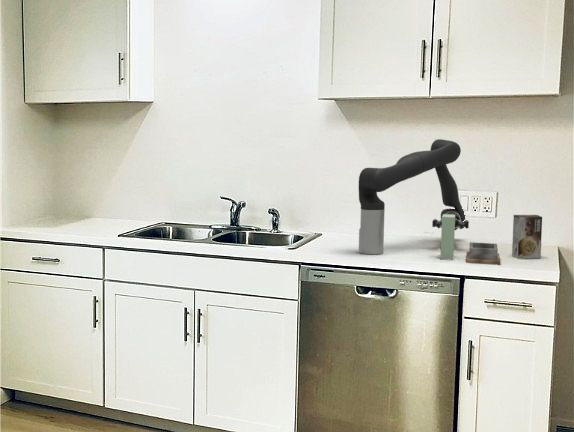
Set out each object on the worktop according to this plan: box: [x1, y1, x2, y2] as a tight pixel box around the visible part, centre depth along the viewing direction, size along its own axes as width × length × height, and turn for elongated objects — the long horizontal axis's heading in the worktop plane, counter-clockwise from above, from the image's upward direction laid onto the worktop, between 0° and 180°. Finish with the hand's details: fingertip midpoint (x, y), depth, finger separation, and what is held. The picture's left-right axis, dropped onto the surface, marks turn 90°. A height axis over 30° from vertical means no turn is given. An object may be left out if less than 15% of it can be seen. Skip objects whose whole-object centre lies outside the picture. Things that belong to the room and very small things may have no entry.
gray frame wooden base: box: [465, 241, 501, 266], centre depth 253 cm, size 12×18×5 cm, turn 164°
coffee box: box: [511, 214, 543, 259], centre depth 259 cm, size 9×6×16 cm
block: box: [440, 214, 456, 261], centre depth 256 cm, size 4×9×16 cm, turn 164°
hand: (449, 226), depth 268 cm, fingers open, 8 cm apart
